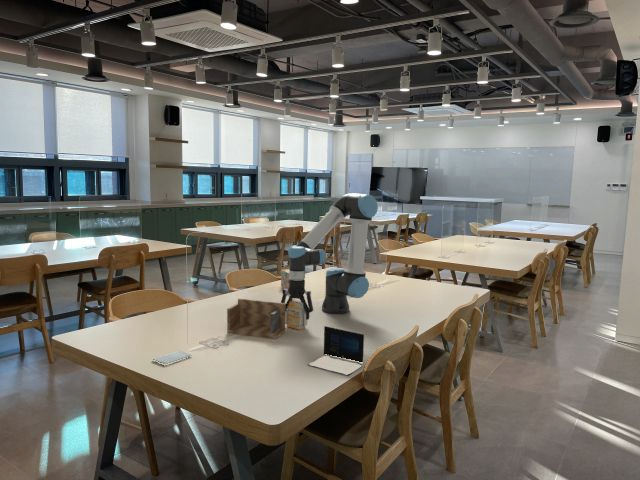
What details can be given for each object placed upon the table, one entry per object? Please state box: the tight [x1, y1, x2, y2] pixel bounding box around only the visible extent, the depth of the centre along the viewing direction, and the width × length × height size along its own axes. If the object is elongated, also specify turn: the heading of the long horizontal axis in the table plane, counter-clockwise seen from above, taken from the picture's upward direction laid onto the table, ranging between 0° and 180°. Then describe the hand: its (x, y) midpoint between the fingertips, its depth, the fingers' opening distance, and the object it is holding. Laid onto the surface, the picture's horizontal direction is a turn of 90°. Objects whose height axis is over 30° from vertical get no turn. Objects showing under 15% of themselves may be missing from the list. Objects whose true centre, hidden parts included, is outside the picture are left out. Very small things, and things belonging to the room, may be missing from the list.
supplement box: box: [286, 298, 307, 331], centre depth 229 cm, size 8×5×13 cm, turn 52°
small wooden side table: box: [226, 298, 287, 340], centre depth 221 cm, size 24×12×14 cm, turn 73°
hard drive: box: [152, 350, 192, 364], centre depth 186 cm, size 2×8×12 cm
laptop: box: [323, 325, 365, 363], centre depth 184 cm, size 18×12×13 cm
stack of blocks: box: [280, 268, 290, 290], centre depth 304 cm, size 21×6×12 cm, turn 25°
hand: (296, 324), depth 229 cm, fingers closed on supplement box, 9 cm apart
